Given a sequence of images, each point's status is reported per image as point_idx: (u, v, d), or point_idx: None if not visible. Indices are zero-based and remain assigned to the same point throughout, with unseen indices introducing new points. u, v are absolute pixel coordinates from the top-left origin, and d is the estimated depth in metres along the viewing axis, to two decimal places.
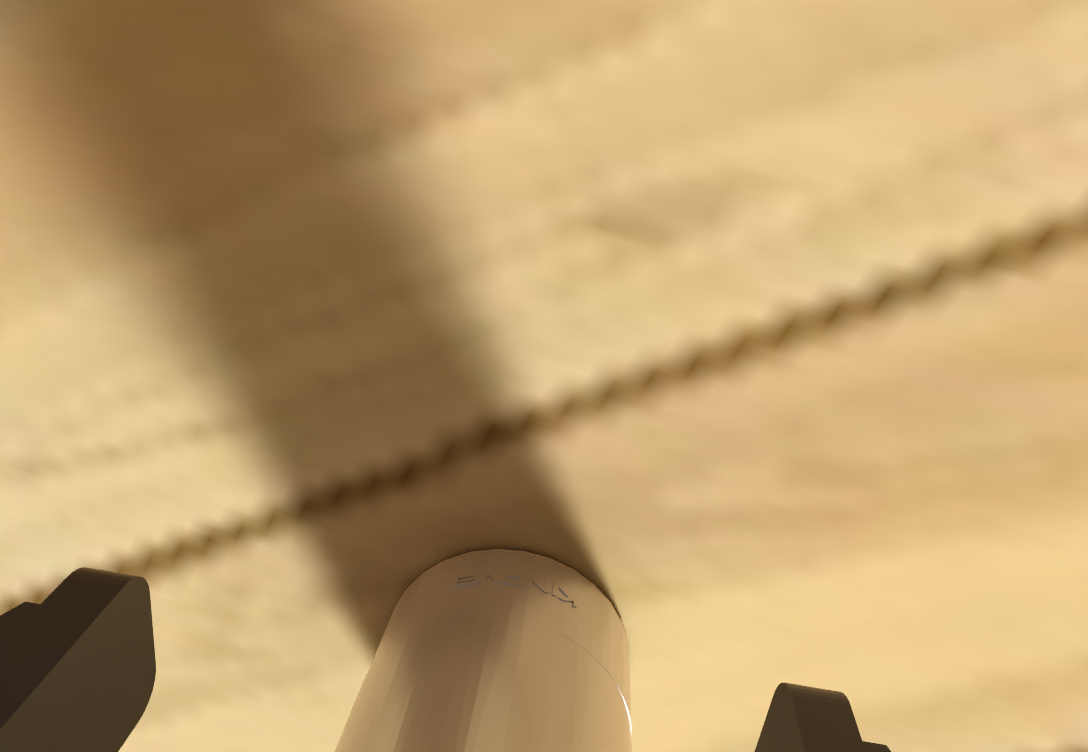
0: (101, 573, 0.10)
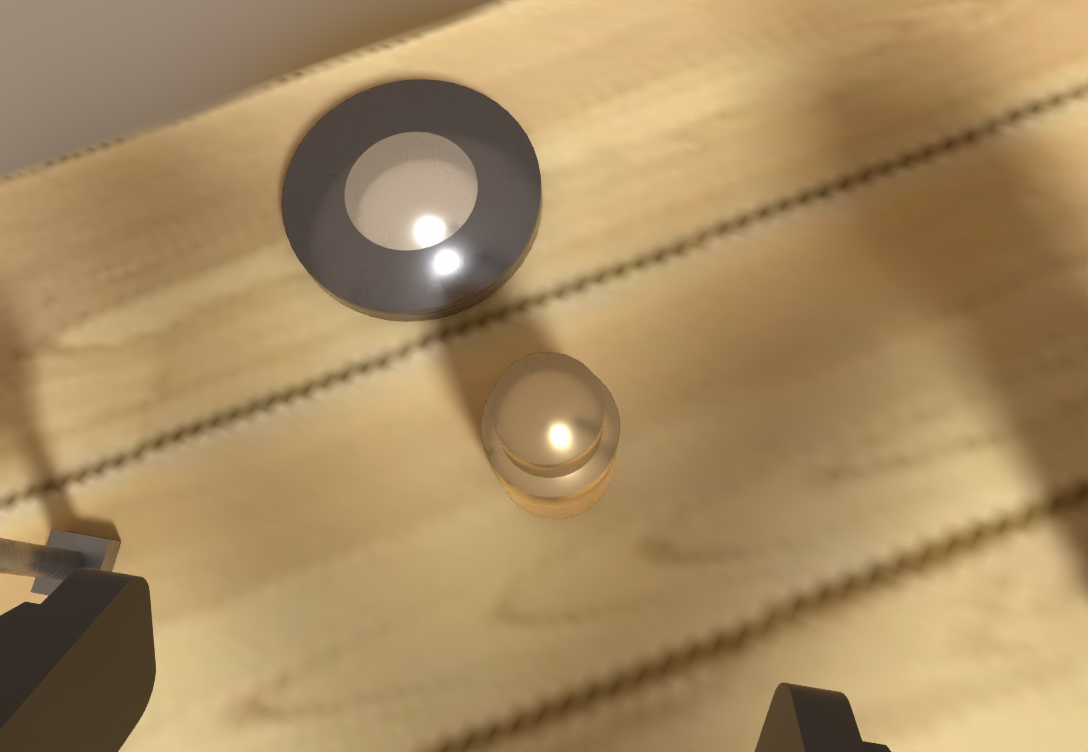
0: (101, 573, 0.10)
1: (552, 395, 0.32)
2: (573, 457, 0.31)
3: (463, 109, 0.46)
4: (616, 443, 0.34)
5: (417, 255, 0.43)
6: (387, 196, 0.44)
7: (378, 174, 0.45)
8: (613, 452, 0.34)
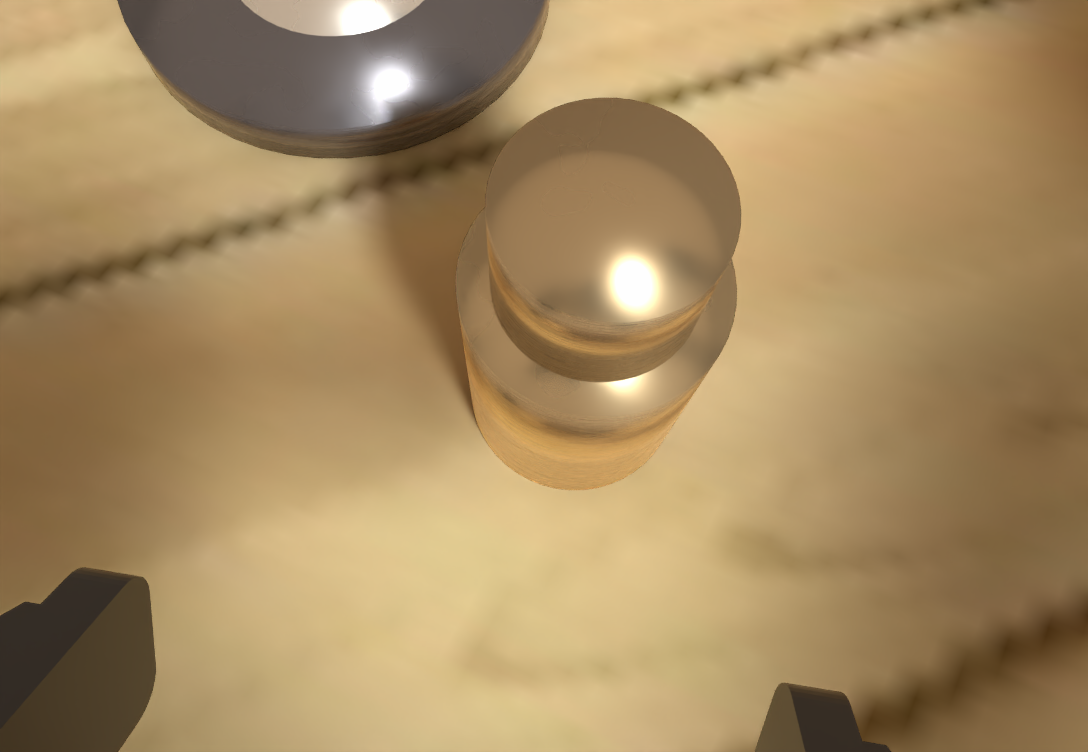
0: (101, 573, 0.10)
1: (624, 180, 0.14)
2: (675, 312, 0.14)
3: None
4: (731, 318, 0.17)
5: (343, 44, 0.25)
6: None
7: None
8: (726, 335, 0.17)
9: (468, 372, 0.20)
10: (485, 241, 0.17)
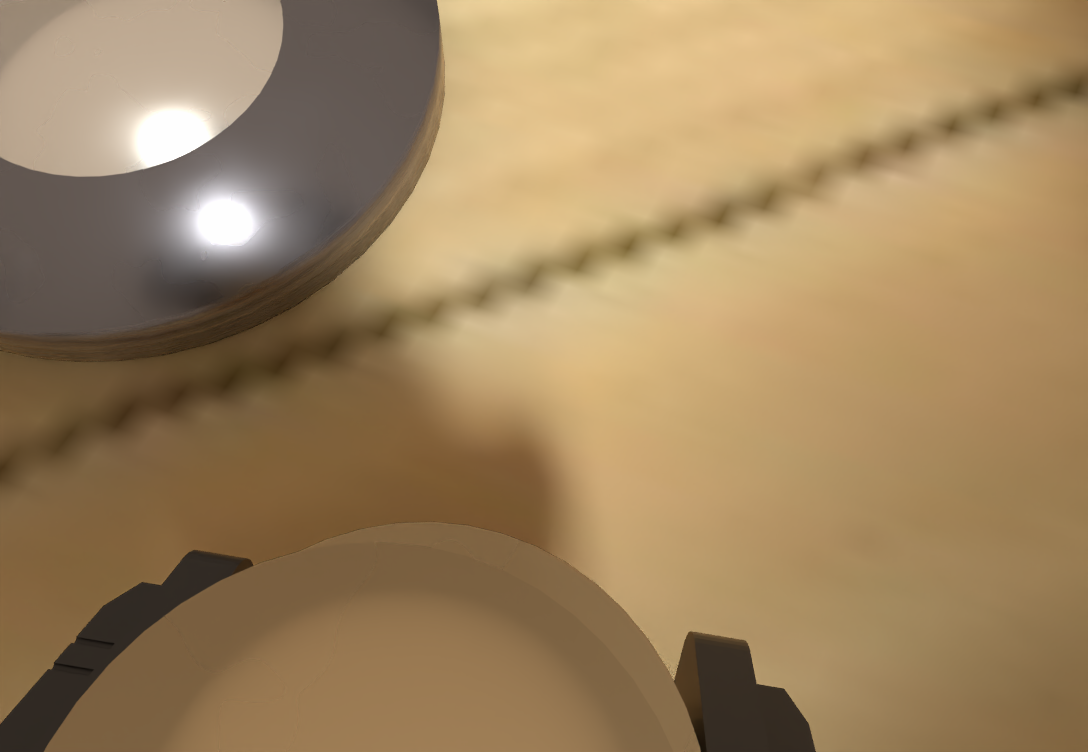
0: (213, 555, 0.10)
1: None
2: None
3: None
4: None
5: (108, 189, 0.16)
6: (52, 48, 0.18)
7: None
8: None
9: None
10: None
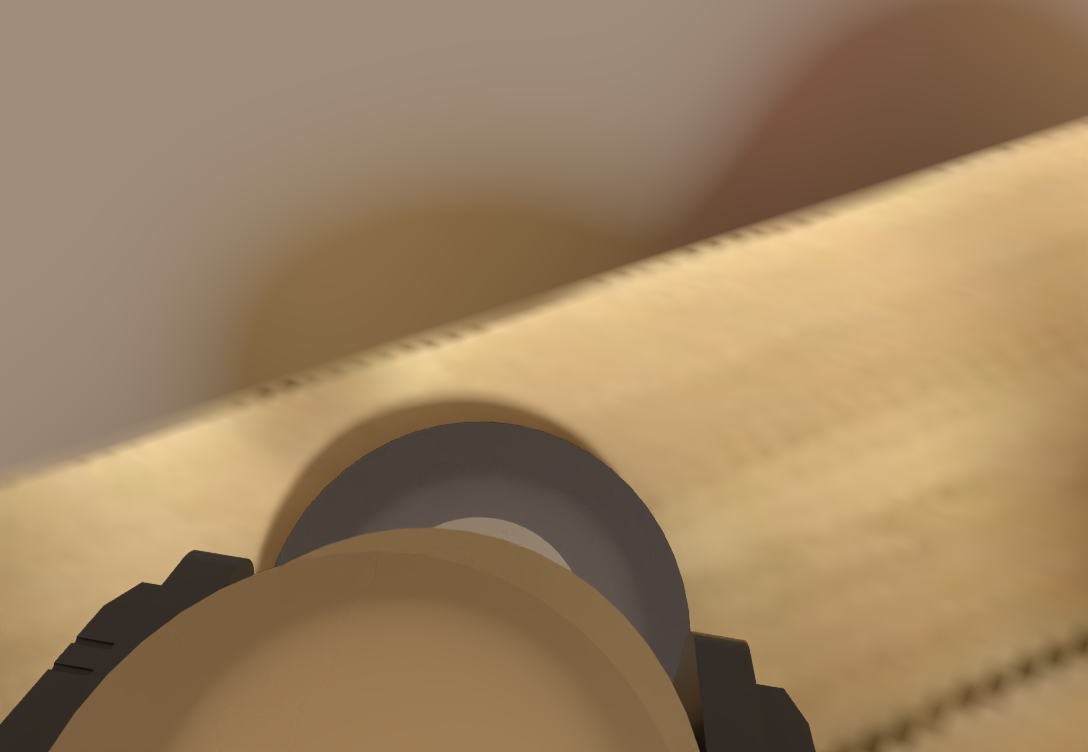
0: (213, 555, 0.10)
1: None
2: None
3: (560, 479, 0.29)
4: None
5: None
6: None
7: None
8: None
9: None
10: None
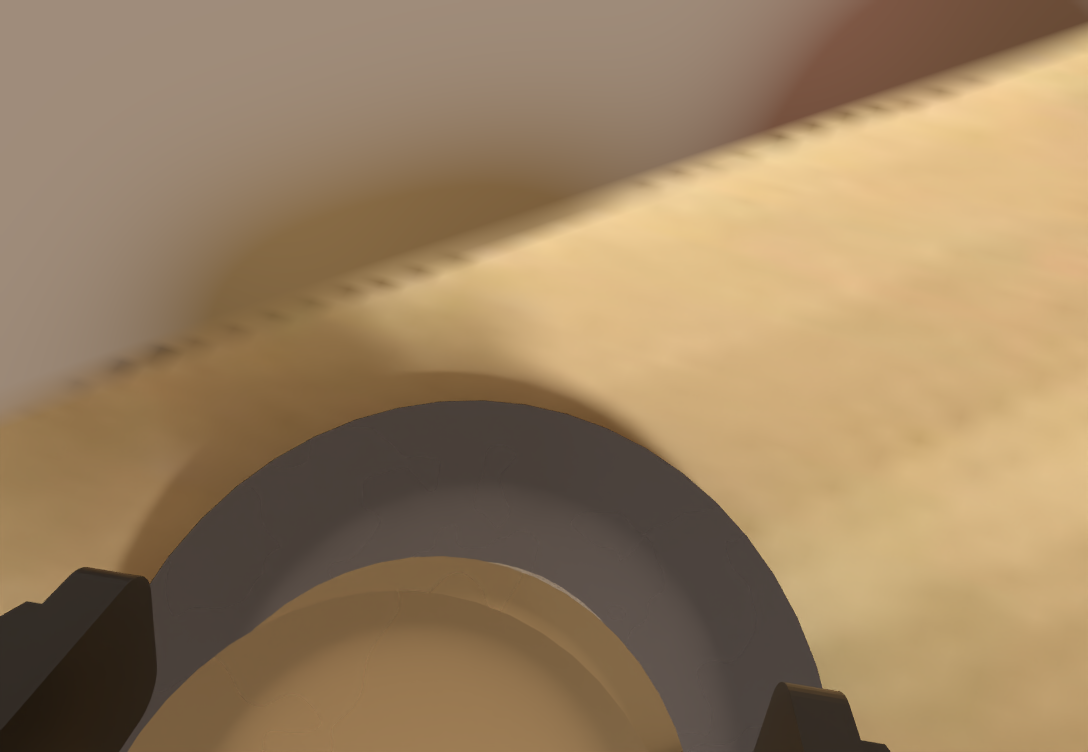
0: (103, 573, 0.10)
1: None
2: None
3: (598, 492, 0.17)
4: None
5: None
6: None
7: None
8: None
9: None
10: None
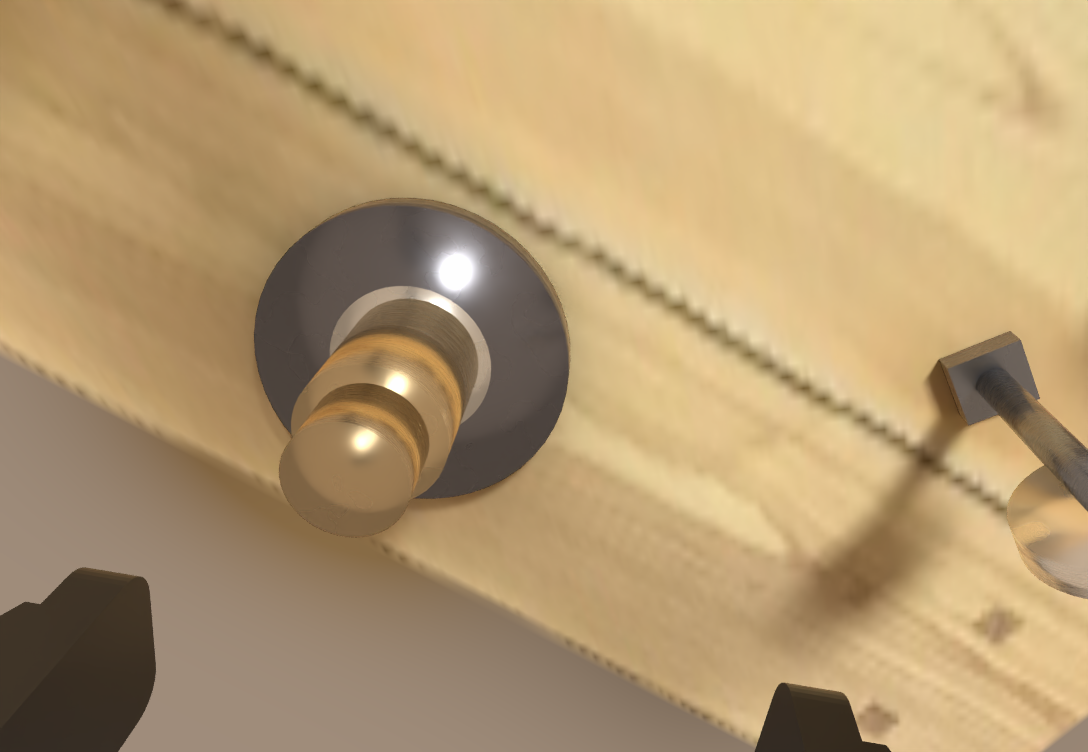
0: (101, 573, 0.10)
1: (330, 484, 0.27)
2: (368, 428, 0.26)
3: (289, 378, 0.37)
4: (333, 370, 0.29)
5: (469, 305, 0.35)
6: None
7: None
8: (343, 367, 0.29)
9: None
10: None
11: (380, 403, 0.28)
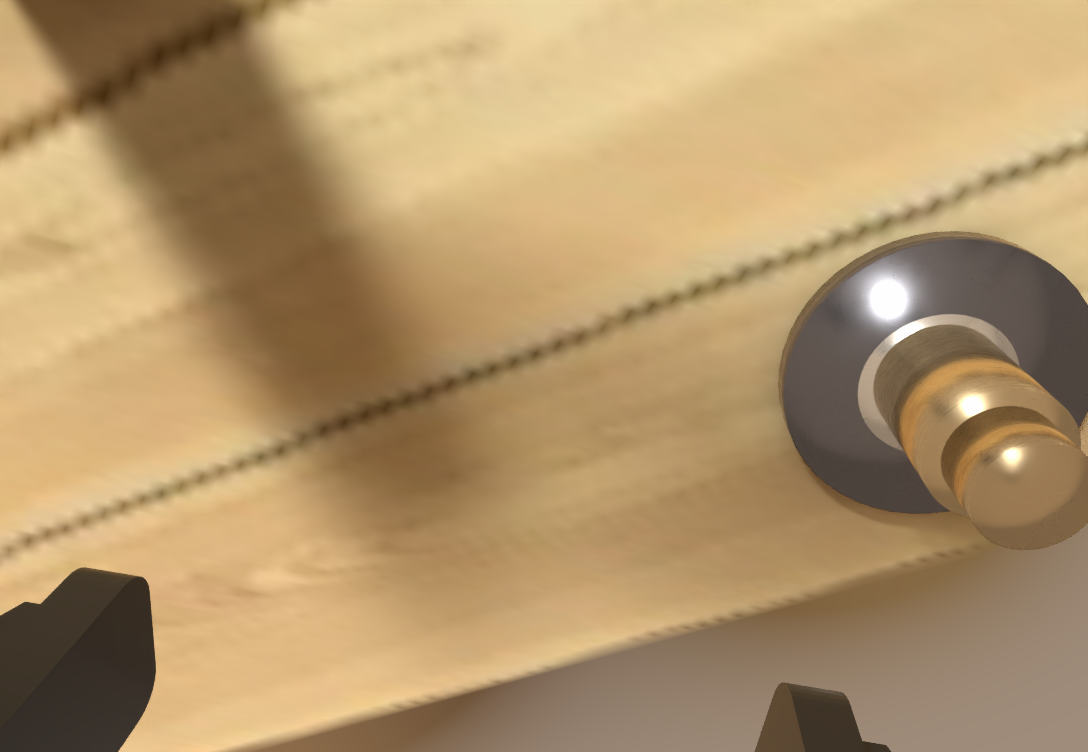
0: (101, 573, 0.10)
1: (1027, 509, 0.30)
2: (1015, 448, 0.29)
3: (865, 478, 0.41)
4: (929, 438, 0.32)
5: (938, 307, 0.37)
6: None
7: None
8: (934, 429, 0.32)
9: None
10: None
11: (993, 426, 0.30)
